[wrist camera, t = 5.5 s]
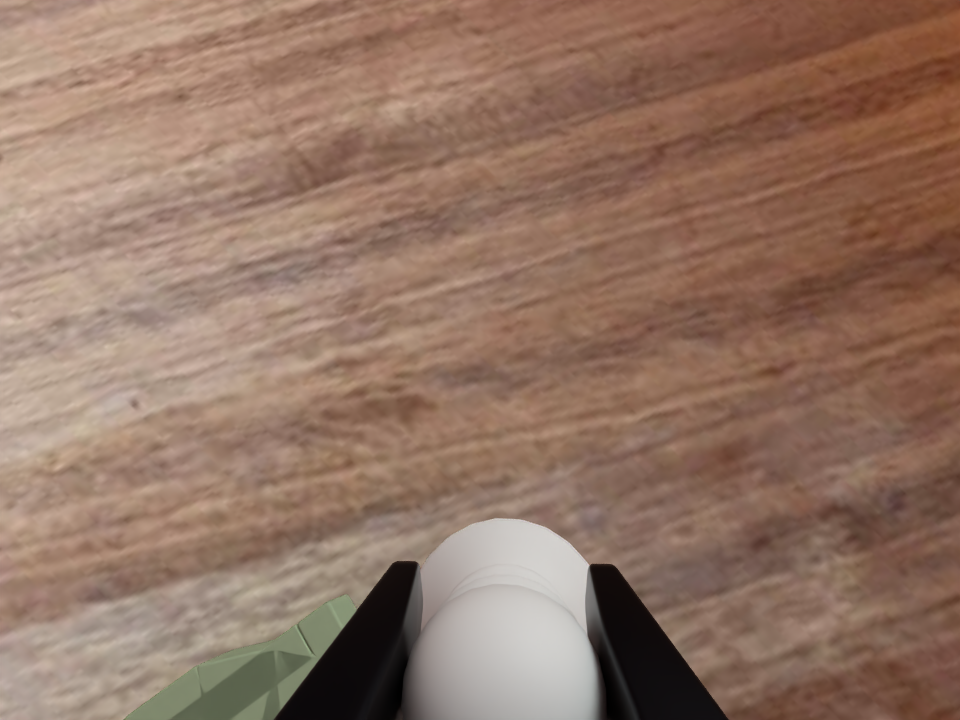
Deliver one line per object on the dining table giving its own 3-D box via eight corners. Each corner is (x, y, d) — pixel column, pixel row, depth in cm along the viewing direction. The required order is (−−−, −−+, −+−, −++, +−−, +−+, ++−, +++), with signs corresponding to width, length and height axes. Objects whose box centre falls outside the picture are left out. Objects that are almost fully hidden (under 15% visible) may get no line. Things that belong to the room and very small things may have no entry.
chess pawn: (410, 527, 16) (292, 518, 7) (586, 512, 16) (679, 485, 7) (418, 730, 14) (282, 1021, 6) (613, 714, 14) (771, 988, 6)
